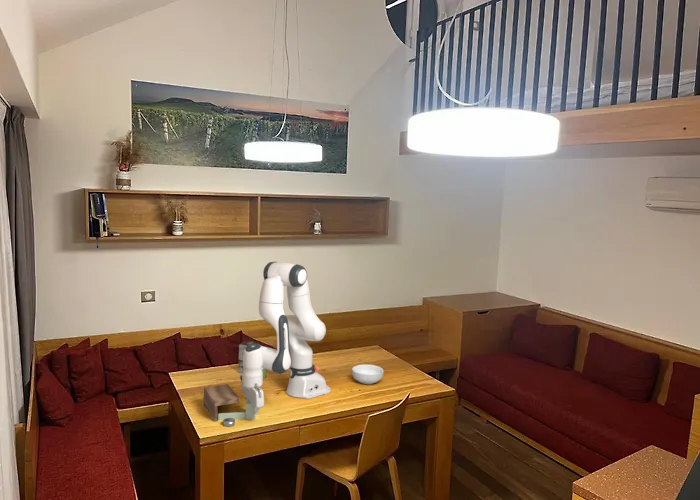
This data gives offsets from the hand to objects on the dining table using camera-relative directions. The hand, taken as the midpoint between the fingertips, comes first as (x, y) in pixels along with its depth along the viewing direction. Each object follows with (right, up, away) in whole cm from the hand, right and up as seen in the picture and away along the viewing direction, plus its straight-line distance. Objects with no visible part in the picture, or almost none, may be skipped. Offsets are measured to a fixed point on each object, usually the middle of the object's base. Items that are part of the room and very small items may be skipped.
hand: (252, 409), depth 249 cm
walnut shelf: (-15, -2, +5) cm, 16 cm away
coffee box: (-13, +5, +58) cm, 60 cm away
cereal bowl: (+53, +1, +49) cm, 73 cm away
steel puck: (-9, -4, -8) cm, 13 cm away
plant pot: (-4, +3, +50) cm, 50 cm away
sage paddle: (-7, -3, -1) cm, 8 cm away
